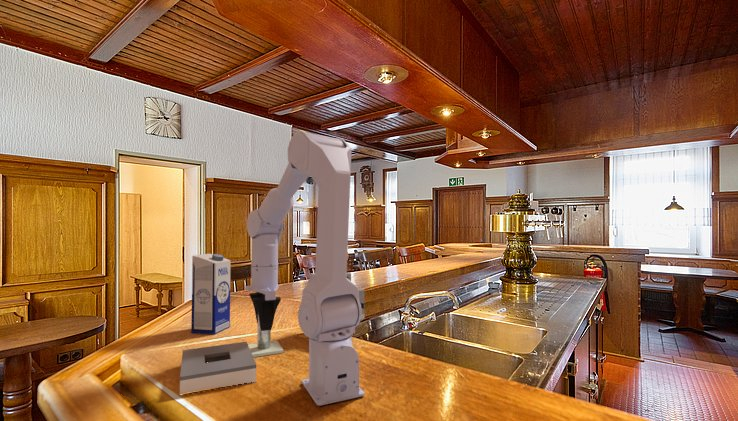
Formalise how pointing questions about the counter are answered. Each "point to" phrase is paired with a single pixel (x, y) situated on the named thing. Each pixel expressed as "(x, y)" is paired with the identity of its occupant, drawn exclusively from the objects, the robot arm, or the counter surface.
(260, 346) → the shiny metal cylinder
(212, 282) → the milk carton
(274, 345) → the pad
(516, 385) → the counter surface
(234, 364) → the box
